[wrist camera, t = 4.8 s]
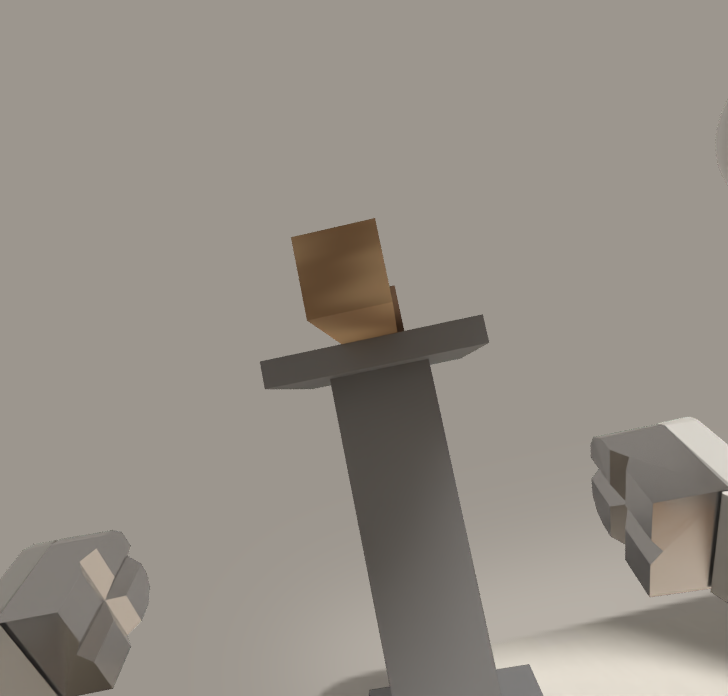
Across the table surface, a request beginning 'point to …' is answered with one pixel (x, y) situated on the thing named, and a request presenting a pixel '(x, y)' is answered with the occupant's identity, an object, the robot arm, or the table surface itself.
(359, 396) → the charcoal stand
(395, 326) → the oak shaft
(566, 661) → the table surface
